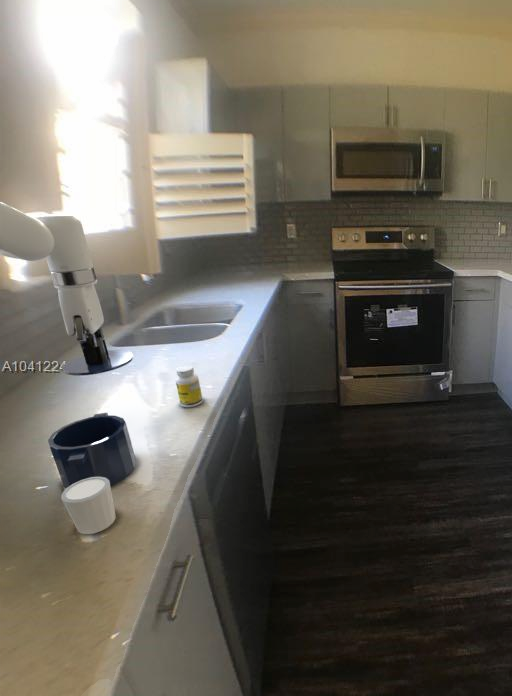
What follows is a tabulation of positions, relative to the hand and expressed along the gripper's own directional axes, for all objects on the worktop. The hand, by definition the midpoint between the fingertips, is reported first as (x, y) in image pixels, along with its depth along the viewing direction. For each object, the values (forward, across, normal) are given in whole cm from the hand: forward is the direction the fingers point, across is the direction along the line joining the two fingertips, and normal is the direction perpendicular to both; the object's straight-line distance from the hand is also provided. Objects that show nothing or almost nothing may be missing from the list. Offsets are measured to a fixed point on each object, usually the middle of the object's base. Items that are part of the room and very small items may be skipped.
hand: (98, 359), depth 101 cm
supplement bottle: (+17, -8, +16) cm, 25 cm away
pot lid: (+1, 0, 0) cm, 1 cm away
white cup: (+17, +35, +4) cm, 39 cm away
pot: (+17, +19, +1) cm, 26 cm away
